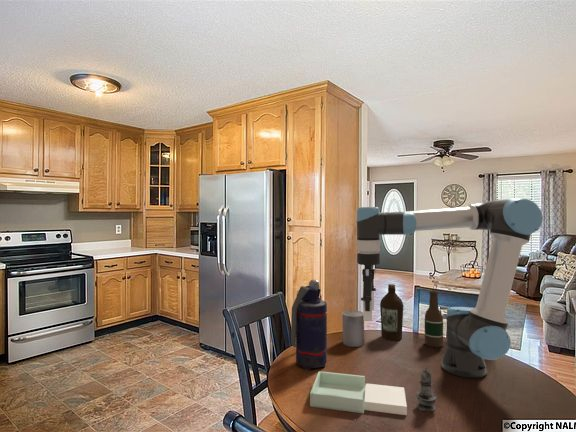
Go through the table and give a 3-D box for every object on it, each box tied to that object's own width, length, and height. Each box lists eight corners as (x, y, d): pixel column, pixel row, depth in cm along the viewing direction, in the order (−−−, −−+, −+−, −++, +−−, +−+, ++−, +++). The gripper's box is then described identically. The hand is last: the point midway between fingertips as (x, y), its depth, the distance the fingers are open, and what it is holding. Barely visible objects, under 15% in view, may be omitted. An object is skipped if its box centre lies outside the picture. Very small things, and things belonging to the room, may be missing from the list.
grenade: (318, 356, 148) (318, 283, 148) (332, 368, 137) (332, 288, 137) (286, 361, 143) (286, 285, 143) (298, 373, 132) (298, 291, 132)
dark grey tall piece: (431, 402, 112) (431, 363, 112) (440, 412, 106) (440, 371, 106) (412, 402, 112) (412, 363, 112) (420, 412, 106) (420, 371, 106)
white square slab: (404, 395, 117) (404, 387, 117) (406, 415, 105) (406, 406, 105) (365, 390, 119) (365, 383, 119) (364, 409, 108) (364, 401, 108)
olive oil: (383, 332, 179) (383, 281, 179) (405, 336, 174) (405, 283, 173) (377, 339, 169) (377, 285, 169) (400, 342, 164) (400, 287, 164)
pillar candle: (352, 338, 171) (351, 306, 171) (369, 343, 163) (368, 310, 163) (338, 343, 165) (337, 310, 164) (354, 349, 157) (354, 314, 157)
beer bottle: (444, 343, 163) (444, 290, 163) (441, 348, 157) (441, 293, 157) (426, 340, 168) (426, 288, 167) (422, 345, 161) (422, 291, 161)
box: (366, 388, 121) (366, 376, 121) (364, 413, 106) (364, 399, 106) (318, 382, 125) (318, 371, 125) (310, 406, 110) (310, 393, 110)
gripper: (360, 248, 136) (360, 305, 136) (353, 256, 112) (354, 325, 112) (380, 249, 134) (381, 306, 134) (378, 256, 110) (379, 326, 110)
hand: (369, 315), depth 123 cm, fingers open, 13 cm apart
